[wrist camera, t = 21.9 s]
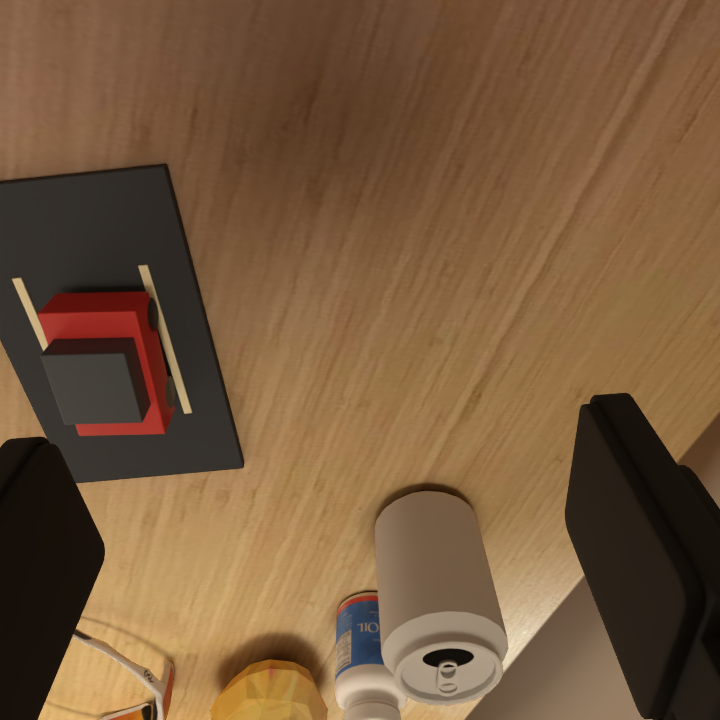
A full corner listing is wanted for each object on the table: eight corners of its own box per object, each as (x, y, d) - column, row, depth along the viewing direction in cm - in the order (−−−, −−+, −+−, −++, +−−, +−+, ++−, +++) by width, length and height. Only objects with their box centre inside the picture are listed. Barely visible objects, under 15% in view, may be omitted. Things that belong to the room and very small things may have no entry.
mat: (-65, 188, 31) (-73, 191, 30) (167, 163, 30) (163, 166, 30) (71, 478, 41) (68, 485, 40) (244, 462, 41) (243, 469, 40)
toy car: (152, 284, 33) (62, 286, 33) (125, 326, 29) (21, 328, 29) (178, 401, 37) (98, 403, 37) (158, 453, 33) (67, 454, 33)
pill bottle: (413, 600, 49) (428, 724, 40) (383, 637, 51) (391, 761, 43) (353, 582, 47) (355, 707, 39) (325, 620, 50) (321, 746, 42)
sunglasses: (130, 733, 58) (106, 788, 54) (-9, 656, 55) (-47, 708, 50) (210, 666, 53) (191, 722, 48) (61, 575, 49) (26, 626, 45)
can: (478, 479, 42) (522, 636, 32) (472, 552, 46) (509, 712, 36) (372, 484, 42) (381, 642, 32) (375, 556, 46) (384, 718, 36)
